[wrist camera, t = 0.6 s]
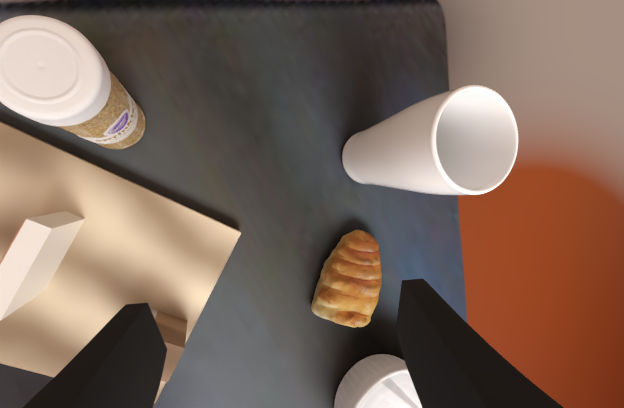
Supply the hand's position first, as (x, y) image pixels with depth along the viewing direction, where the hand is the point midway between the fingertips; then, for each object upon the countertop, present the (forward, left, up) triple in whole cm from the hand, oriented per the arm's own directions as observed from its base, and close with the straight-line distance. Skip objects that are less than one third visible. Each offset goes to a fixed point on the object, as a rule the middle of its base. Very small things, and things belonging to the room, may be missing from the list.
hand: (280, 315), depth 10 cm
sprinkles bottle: (+4, +12, -22) cm, 25 cm away
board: (-8, +9, -22) cm, 25 cm away
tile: (-7, +11, -21) cm, 24 cm away
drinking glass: (+12, -9, -22) cm, 27 cm away
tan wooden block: (-10, +1, -21) cm, 23 cm away
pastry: (0, -13, -22) cm, 26 cm away
